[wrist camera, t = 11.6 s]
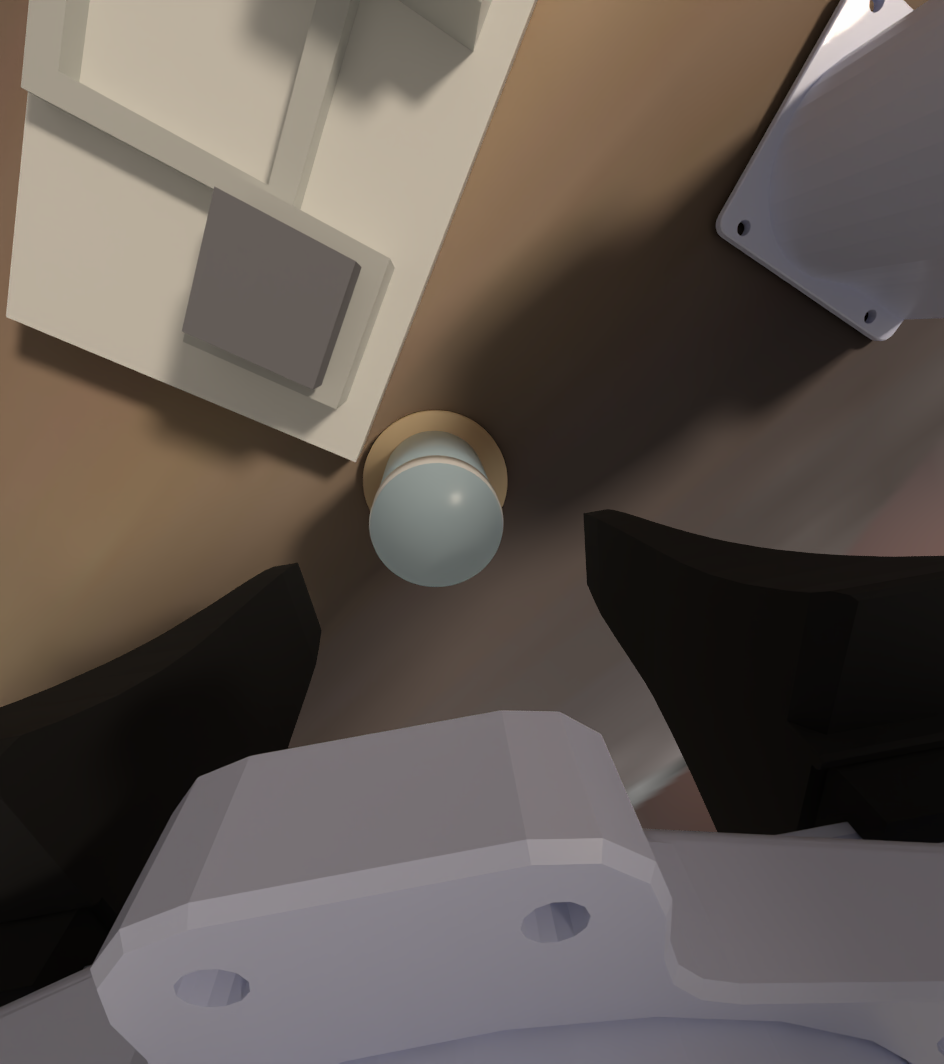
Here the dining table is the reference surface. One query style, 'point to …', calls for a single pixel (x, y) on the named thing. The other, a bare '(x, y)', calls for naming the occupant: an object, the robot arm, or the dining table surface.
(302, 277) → the plunger
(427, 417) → the coaster
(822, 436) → the dining table surface
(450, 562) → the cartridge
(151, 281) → the housing
